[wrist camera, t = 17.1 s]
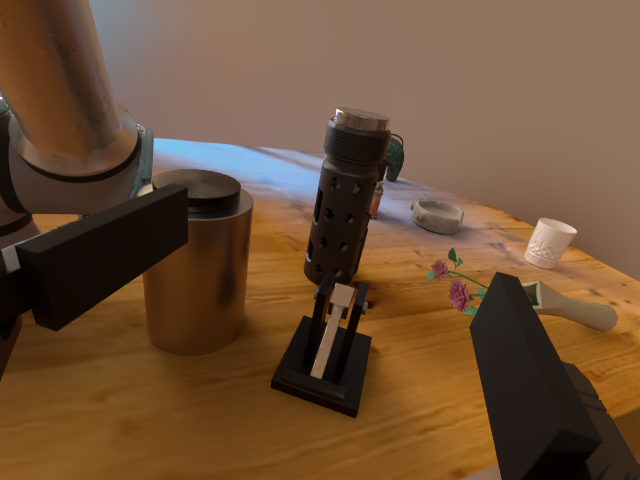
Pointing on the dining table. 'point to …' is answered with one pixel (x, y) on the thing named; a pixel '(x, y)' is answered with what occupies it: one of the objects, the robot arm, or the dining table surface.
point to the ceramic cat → (394, 158)
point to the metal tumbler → (201, 267)
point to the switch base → (344, 355)
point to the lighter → (376, 200)
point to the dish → (437, 216)
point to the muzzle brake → (346, 192)
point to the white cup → (549, 243)
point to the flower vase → (533, 300)
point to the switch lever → (324, 351)
